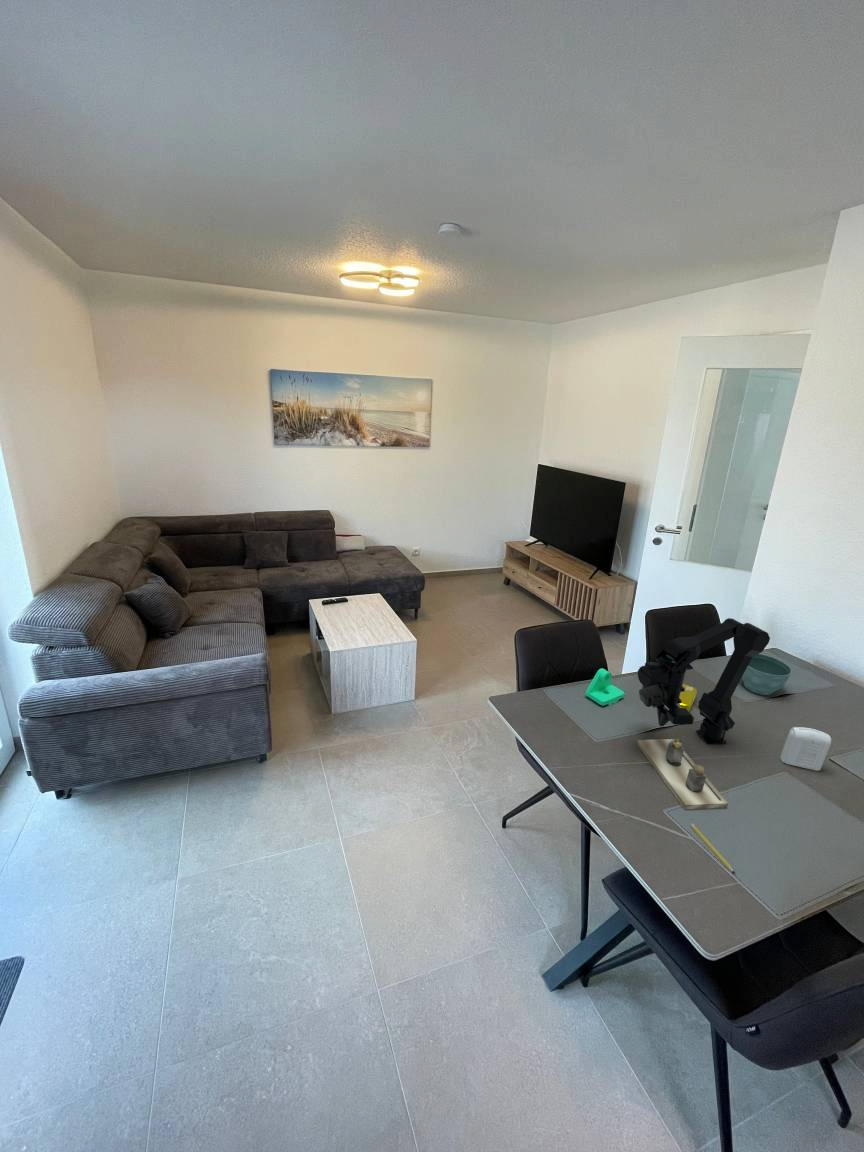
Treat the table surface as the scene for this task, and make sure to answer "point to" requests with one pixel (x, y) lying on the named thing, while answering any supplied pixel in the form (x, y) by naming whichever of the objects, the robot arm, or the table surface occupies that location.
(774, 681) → the flower pot
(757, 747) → the table surface
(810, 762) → the photo printer
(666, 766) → the bolt plate
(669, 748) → the sliding leg
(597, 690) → the camera mount
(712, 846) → the pencil
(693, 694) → the element tile
